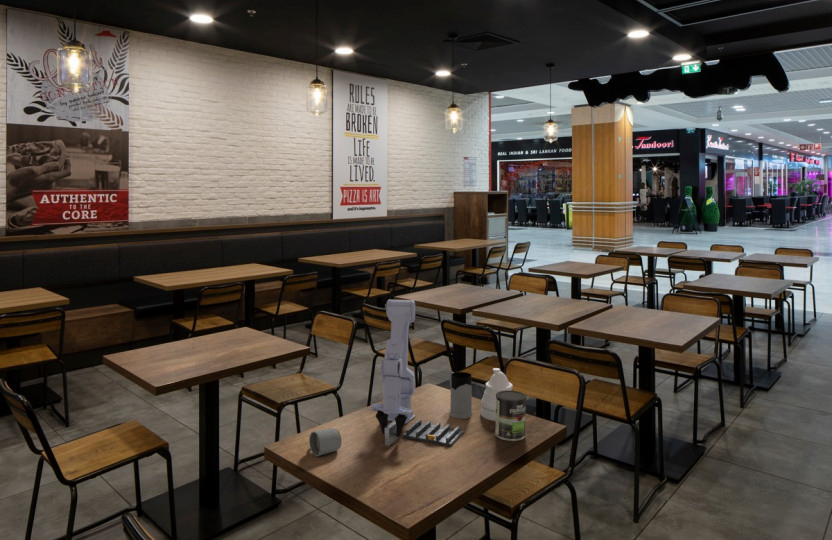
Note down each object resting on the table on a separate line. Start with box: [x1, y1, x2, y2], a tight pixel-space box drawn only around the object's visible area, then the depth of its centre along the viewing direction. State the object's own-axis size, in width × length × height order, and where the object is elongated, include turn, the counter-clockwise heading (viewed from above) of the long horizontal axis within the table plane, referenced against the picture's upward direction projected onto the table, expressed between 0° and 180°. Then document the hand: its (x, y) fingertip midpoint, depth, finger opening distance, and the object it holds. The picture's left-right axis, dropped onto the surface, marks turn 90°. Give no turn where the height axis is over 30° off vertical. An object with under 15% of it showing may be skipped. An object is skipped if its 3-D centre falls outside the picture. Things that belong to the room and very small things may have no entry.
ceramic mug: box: [308, 427, 342, 457], centre depth 183 cm, size 11×8×8 cm
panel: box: [384, 420, 400, 447], centre depth 190 cm, size 2×7×6 cm, turn 155°
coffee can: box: [494, 390, 528, 442], centre depth 195 cm, size 10×10×14 cm
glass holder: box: [449, 371, 473, 419], centre depth 217 cm, size 9×14×15 cm, turn 21°
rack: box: [402, 418, 464, 447], centre depth 195 cm, size 17×12×2 cm
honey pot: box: [480, 367, 514, 422], centre depth 213 cm, size 13×13×18 cm
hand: (391, 434), depth 190 cm, fingers open, 5 cm apart
